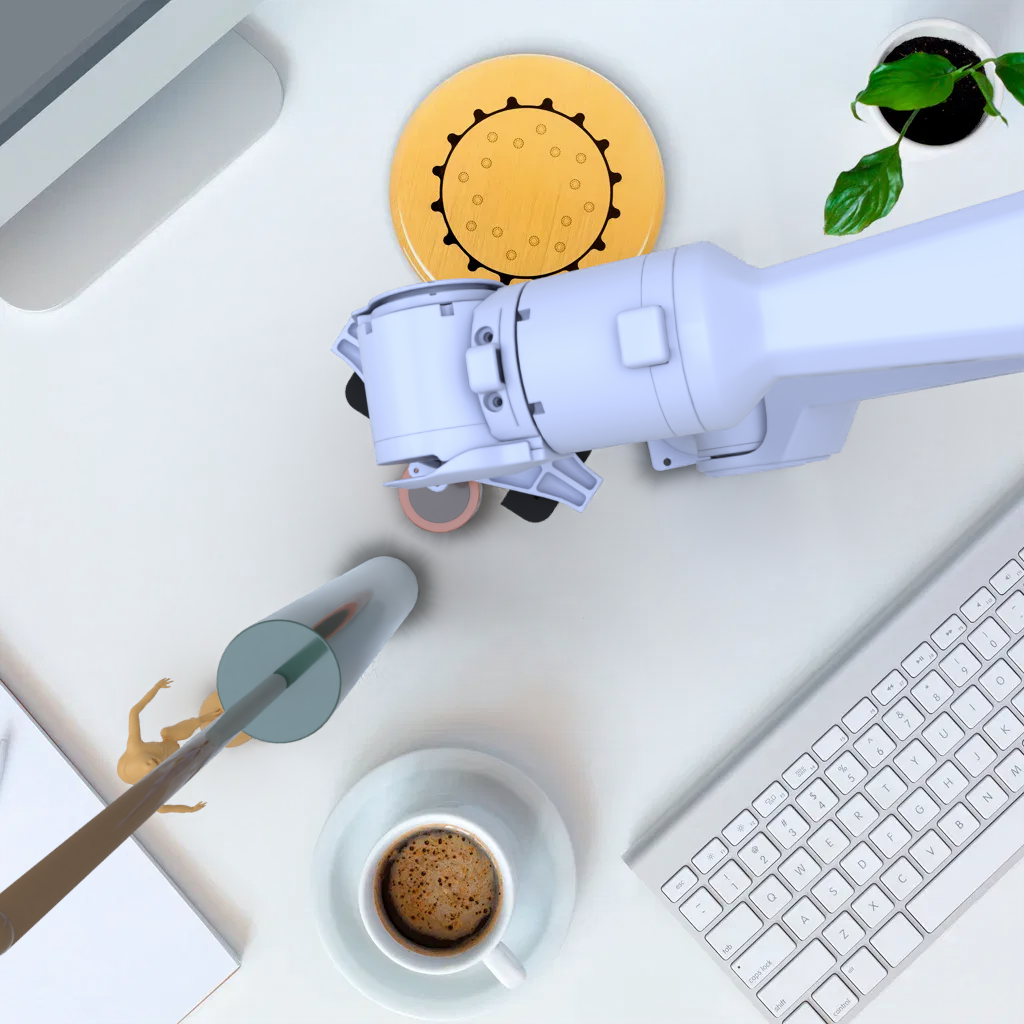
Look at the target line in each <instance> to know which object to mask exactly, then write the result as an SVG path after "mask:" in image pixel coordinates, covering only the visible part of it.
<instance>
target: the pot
mask: <svg viewBox="0 0 1024 1024" xmlns="http://www.w3.org/2000/svg"><path fill="white" fill-rule="evenodd" d="M408 468H409V465H407V467H406V468H405V470H404V471H403V473H402V475H401V478H400V479H406V478H412V477H411V475H410V474H409V470H408ZM415 472H416V473H418V472H419V469H418V468H417V469H415ZM438 486H439V485H438ZM398 499H399V500H398V501H399V504H400V507H401V510H402V511H403V513H404V514H405V516H406V518H407V519H408V520H409V521H410V522H411V523H412V524H414V525H415V526H417V527H418V528H420V529H421V530H424V531H427V532H430V533H436V534H441V533H449V532H452V531H455V530H458V529H459V528H461V527H463V526H464V525H465V524H467V523H468V522H469V521H470V520H471V519H472V518H473V517H474V515H475V514H476V513H477V512H478V510H479V508H480V506H481V502H482V499H483V483H480V482H476V481H466V482H459V483H452V484H449V485H448V487H447V488H446V489H445V490H443V491H440V492H435V491H432V490H430V489H429V488H427V487H424V488H416V489H403V488H398Z"/></svg>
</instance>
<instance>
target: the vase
mask: <svg viewBox="0 0 1024 1024" xmlns="http://www.w3.org/2000/svg"><path fill="white" fill-rule="evenodd" d="M418 597H419V583H418V580H417V577H416V574H415V573H414V571H413V570H412V569H411V567H410V566H409V565H408V564H407V563H406V562H404V561H402V560H401V559H399V558H396V557H394V556H389V555H379V556H375V557H372V558H369V559H367V560H366V561H364V562H363V563H361V564H359V565H357V566H355V567H353V568H352V569H349V570H348V571H346V572H344V573H343V574H341V575H339V576H337V577H336V578H333V579H332V580H330V581H328V582H326V583H325V584H323V585H321V586H319V587H317V588H316V589H314V590H312V591H310V592H309V593H307V594H305V595H303V596H301V597H299V598H298V599H296V600H294V601H292V602H291V603H289V604H287V605H285V606H283V607H282V608H280V609H278V610H276V611H274V612H272V613H271V614H269V615H267V616H265V617H264V618H261V619H260V620H258V621H256V622H254V623H253V624H251V625H249V626H248V627H246V628H244V629H243V630H242V631H240V632H239V633H237V634H236V635H235V637H233V639H232V640H230V642H229V643H228V644H227V646H226V647H225V649H224V650H223V652H222V655H221V657H220V660H219V662H218V665H217V666H218V667H217V671H216V690H217V692H218V696H219V700H220V703H221V705H222V707H223V710H224V711H225V712H224V713H222V714H221V715H220V716H219V717H217V718H216V719H215V720H214V721H212V722H211V723H210V724H209V725H208V726H206V727H205V728H204V729H203V730H201V729H200V731H199V732H198V733H197V734H195V735H194V736H193V737H190V738H189V740H188V741H186V742H185V743H184V744H183V745H181V746H180V748H179V749H178V750H177V751H175V752H174V753H173V754H172V755H170V756H169V757H168V758H167V759H166V760H164V761H163V762H162V763H161V764H159V765H158V766H157V767H156V768H154V769H153V770H152V771H151V772H149V773H148V774H147V775H146V776H145V777H143V778H142V779H141V780H140V781H138V782H137V783H136V784H135V785H132V786H131V787H130V788H128V789H127V790H126V791H125V792H123V793H122V794H121V795H120V796H119V797H117V798H116V799H115V800H113V801H112V802H111V803H110V804H109V805H107V806H106V807H105V808H104V809H103V810H101V811H100V812H99V813H98V814H96V815H95V816H94V817H92V819H90V820H89V821H87V822H86V823H85V824H84V825H83V826H82V827H80V828H79V829H78V830H77V831H75V832H74V833H72V835H71V836H69V837H68V838H66V839H65V840H64V841H62V843H60V844H59V845H58V846H57V847H56V848H54V849H53V850H52V851H50V852H49V853H48V854H47V855H45V856H44V857H43V858H41V860H39V861H38V862H36V864H35V865H33V866H32V867H31V868H30V869H28V870H26V872H24V873H23V874H21V876H20V877H18V878H17V879H16V880H15V881H13V882H12V883H11V884H10V885H9V886H7V887H6V888H5V889H3V890H2V891H1V892H0V957H2V956H3V955H4V954H6V953H7V952H8V950H10V949H11V948H12V947H13V946H14V945H15V944H16V943H18V941H19V940H21V939H22V938H23V937H24V936H25V935H26V934H27V933H28V932H30V930H31V929H32V928H33V927H34V926H36V925H37V924H38V923H39V922H40V921H41V920H42V919H43V918H44V917H45V916H46V915H48V913H50V911H52V910H53V909H54V908H55V907H56V906H57V905H58V904H59V903H60V902H61V901H62V900H64V898H65V897H66V896H68V895H69V894H70V893H72V891H73V890H74V889H75V888H76V887H77V886H78V885H79V884H81V883H82V881H84V880H85V879H86V878H87V877H88V876H89V875H90V874H91V873H92V872H93V871H94V870H96V869H97V867H99V866H100V865H101V864H102V863H103V862H104V861H105V860H106V859H107V858H108V857H109V856H110V855H111V854H112V853H114V852H115V851H116V850H117V849H118V848H119V847H120V846H121V845H122V844H123V843H125V841H126V840H127V839H129V837H131V836H132V835H133V834H134V833H135V832H136V831H137V830H139V828H141V826H143V824H144V823H145V822H147V821H148V820H149V819H150V818H151V817H152V816H153V815H154V814H156V812H157V810H158V809H159V808H160V807H161V806H163V805H166V803H167V802H168V801H169V800H170V799H172V797H174V795H175V794H177V793H178V792H179V791H180V790H181V789H182V788H183V787H184V786H185V785H186V784H188V783H189V781H191V779H193V778H194V777H195V776H196V775H197V774H199V772H201V770H202V769H203V768H204V767H205V766H206V765H207V764H209V763H210V762H211V761H213V760H214V758H215V757H216V756H217V755H218V754H220V753H221V752H222V750H224V749H226V748H225V747H226V746H227V745H228V744H229V743H230V742H231V741H232V740H233V739H234V738H235V737H236V736H237V735H238V734H240V733H241V732H244V733H245V734H247V735H249V736H251V737H252V738H253V739H255V740H258V741H260V742H264V743H267V744H268V743H269V744H275V745H277V744H290V743H295V742H299V741H303V740H304V739H307V738H309V737H310V736H312V735H314V734H315V733H317V732H318V731H319V730H320V729H322V728H323V727H324V725H326V724H327V722H328V721H329V720H330V719H331V718H332V716H333V715H334V713H335V712H336V711H337V709H338V708H339V707H340V705H341V704H342V702H343V701H344V700H345V699H346V698H347V697H348V695H349V694H350V693H351V691H352V690H353V688H354V687H355V686H356V685H357V683H358V682H359V680H360V679H361V678H362V676H363V675H364V674H365V673H366V671H367V670H368V668H369V667H370V665H371V664H372V663H373V662H374V661H375V659H376V658H377V656H378V655H379V654H380V652H381V651H382V650H383V649H384V648H385V646H386V644H387V643H388V642H389V641H390V639H391V638H392V637H393V635H394V634H395V633H396V631H397V630H398V629H399V627H400V626H401V625H402V624H403V622H404V621H405V619H406V618H407V617H408V616H409V614H410V613H411V611H412V610H413V609H414V607H415V605H416V603H417V600H418ZM252 738H251V739H252Z"/></svg>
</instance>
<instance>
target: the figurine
mask: <svg viewBox="0 0 1024 1024" xmlns="http://www.w3.org/2000/svg"><path fill="white" fill-rule="evenodd" d="M172 683H174V680H171V678H170V677H169V678H167V677H163V678H161V679H160V680H159V681H157V682H156V683H155V684H154V686H153V687H152V688H150V690H149V691H148V692H146V694H145V695H143V697H142V698H141V699H140V700H139V701H138V702H137V703H136V704H135V705H133V706H132V707H131V708H130V710H129V714H128V737H127V740H126V749H125V751H124V752H123V754H122V755H121V756H120V757H119V759H118V761H117V765H116V773H117V776H118V778H119V779H120V780H121V781H123V783H125V784H127V785H132V786H133V785H135V784H136V783H137V782H138V781H140V780H141V779H142V778H143V777H145V776H146V775H147V774H148V773H149V772H151V771H152V770H153V769H154V768H156V767H157V766H158V765H159V764H161V763H162V762H163V761H164V760H166V759H167V758H168V757H169V756H170V755H172V754H173V753H174V752H175V751H177V750H178V749H179V748H180V747H181V745H180V744H179V743H178V742H180V741H181V742H182V741H185V740H188V739H190V738H192V737H191V736H193V734H194V733H195V732H196V731H197V730H198V729H200V731H201V730H203V729H204V728H205V727H206V726H208V725H209V724H210V723H211V722H212V721H214V720H215V719H216V718H217V717H219V716H220V715H221V714H222V713H224V712H225V711H224V710H223V707H222V705H221V703H220V700H219V696H218V692H217V689H216V690H214V691H213V692H211V693H210V694H209V695H207V697H206V698H205V699H204V700H203V702H202V704H201V706H200V708H199V713H198V716H197V717H190V718H188V719H184V720H183V719H182V720H180V721H178V722H177V723H175V724H173V725H169V726H165V727H163V728H161V730H160V732H159V733H160V737H161V739H162V741H154V740H153V741H144V740H143V739H142V736H141V735H142V734H141V721H140V713H141V712H142V711H144V709H145V708H146V706H147V705H148V704H149V703H150V702H152V700H153V699H154V698H155V697H156V696H157V694H158V692H159V691H160V690H161V689H170V688H171V685H170V684H172ZM251 739H252V737H251V736H249V735H247V734H245V733H244V732H241V733H240V734H238V735H237V736H236V737H235V738H234V739H233V740H232V741H231V742H230V743H229V744H228V745H227V746H226V747H225V748H224V749H233V748H236V747H237V748H238V747H240V746H242V745H245V744H246V743H248V742H249V741H250V740H251ZM207 804H208V801H205V802H203V800H201V801H199V802H198V803H196V804H195V805H194V806H189V805H186V804H164V805H163V806H161V807H160V808H159V809H158V810H157V811H156V812H157V813H159V814H169V813H175V814H176V813H177V814H185V813H186V814H187V813H190V814H191V813H192V814H193V813H195V812H198V811H200V810H202V809H204V808H205V807H206V805H207Z"/></svg>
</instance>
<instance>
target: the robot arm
mask: <svg viewBox="0 0 1024 1024" xmlns="http://www.w3.org/2000/svg"><path fill="white" fill-rule="evenodd" d="M330 351H331V352H332V353H333V354H335V355H336V356H337V357H338V358H340V359H342V360H343V361H344V362H345V363H346V364H347V365H348V366H349V367H351V369H352V371H354V372H353V373H352V375H351V376H350V378H349V380H348V381H347V383H346V385H345V388H344V396H345V400H346V402H347V404H348V405H349V406H350V408H352V409H353V410H354V411H356V412H358V413H359V414H361V415H362V416H364V417H365V418H367V419H369V424H370V429H371V437H372V444H373V451H374V458H375V464H376V466H379V467H384V466H397V465H406V464H408V466H409V468H408V470H409V474H410V475H411V477H412V478H406V479H401V478H400V479H394V480H389V481H385V482H382V484H381V486H382V487H383V488H384V487H385V488H395V489H399V488H403V489H416V488H424V487H427V488H429V489H430V490H432V491H435V492H440V491H443V490H445V489H446V488H447V487H448V485H449V484H452V483H459V482H466V481H476V482H480V483H482V484H484V485H489V486H493V487H499V488H503V489H507V490H508V491H507V493H506V495H505V496H504V498H503V499H502V500H501V502H500V505H501V506H502V507H504V508H506V509H507V510H508V511H510V512H512V513H513V514H515V515H516V516H518V517H520V519H523V520H524V521H526V522H527V523H533V524H534V523H535V524H538V523H542V522H545V521H547V520H548V519H549V518H550V517H551V516H552V515H553V513H554V511H555V510H556V509H557V506H559V504H560V503H561V504H563V505H565V506H568V507H569V508H570V509H573V511H576V512H577V513H579V514H582V513H583V512H584V511H585V510H586V508H587V506H588V505H589V504H590V502H591V500H592V499H593V497H594V496H595V494H596V493H597V491H598V490H599V488H600V487H601V485H602V484H603V482H604V478H603V477H602V476H601V475H599V474H598V473H596V472H595V471H593V470H592V469H591V468H589V466H587V465H586V464H585V463H586V462H587V460H588V459H589V457H590V455H591V454H592V452H593V450H599V449H607V448H614V447H620V446H626V445H634V444H638V443H639V444H640V443H645V442H647V443H646V444H647V447H648V452H649V457H650V461H651V466H652V469H654V470H655V471H657V472H662V471H668V470H673V469H677V468H683V467H687V466H692V465H695V467H696V470H697V472H701V473H702V474H703V475H704V476H706V477H707V478H709V479H713V478H714V479H716V478H722V477H723V478H724V477H733V476H739V475H740V476H741V475H749V474H755V473H762V472H768V471H776V470H783V469H789V468H795V467H801V466H805V465H806V464H811V463H818V462H822V461H827V460H829V459H830V458H831V456H832V455H835V454H840V453H841V452H842V451H843V449H844V447H845V445H846V442H847V439H848V436H849V433H850V431H851V428H852V425H853V423H854V420H855V417H856V415H857V411H858V409H859V406H860V404H861V402H864V401H870V400H875V399H880V398H887V397H892V396H897V395H902V394H903V395H904V394H910V393H913V392H914V393H915V392H920V391H925V390H930V389H931V390H932V389H936V388H942V387H948V386H954V385H958V384H959V385H960V384H965V383H970V382H971V383H972V382H975V381H981V380H988V379H992V378H999V377H1003V376H1004V377H1005V376H1009V375H1015V374H1021V373H1024V190H1020V191H1017V192H1013V193H1010V194H1006V195H1003V196H1000V197H995V198H993V199H989V200H986V201H983V202H981V203H977V204H973V205H969V206H966V207H963V208H959V209H957V210H953V211H950V212H947V213H943V214H939V215H936V216H933V217H929V218H926V219H923V220H920V221H917V222H912V223H910V224H906V225H903V226H900V227H899V226H898V227H897V228H893V229H890V230H886V231H883V232H879V233H877V234H873V235H870V236H866V237H863V238H859V239H856V240H852V241H849V242H846V243H843V244H839V245H837V246H833V247H830V248H827V249H826V248H825V249H823V250H820V251H816V252H813V253H809V254H805V255H803V256H800V257H796V258H792V259H789V260H786V261H783V262H780V263H776V264H772V265H769V266H766V267H757V266H754V265H751V264H749V263H748V262H746V261H744V260H742V259H741V258H739V257H737V256H736V255H734V254H732V253H731V252H729V251H728V250H726V249H724V248H722V247H721V246H720V245H717V244H716V243H713V242H711V241H707V240H702V241H697V242H692V243H687V244H684V245H679V246H675V247H669V248H666V249H661V250H657V251H653V252H649V253H645V254H641V255H636V256H632V257H627V258H623V259H618V260H614V261H610V262H605V263H600V264H597V265H593V266H588V267H584V268H579V269H574V270H571V271H567V272H562V273H558V274H553V275H549V276H545V277H541V278H535V279H532V280H526V281H522V282H518V283H513V284H509V285H507V284H505V283H503V282H501V281H499V280H497V279H489V278H480V277H479V278H478V277H476V278H475V277H473V278H471V277H470V278H469V277H462V278H461V277H459V278H444V279H443V278H442V279H435V280H428V281H423V282H419V283H418V282H417V283H413V284H408V285H404V286H401V287H397V288H394V289H391V290H388V291H385V292H382V293H380V294H378V295H376V296H374V297H372V298H371V299H370V300H368V303H367V305H365V306H363V307H361V308H358V309H356V310H354V311H351V313H350V318H349V319H348V321H347V322H346V324H345V325H344V327H343V328H342V330H341V331H340V332H339V335H338V336H337V337H336V340H335V341H334V343H333V344H332V346H331V347H330ZM666 459H668V460H669V464H668V465H666V464H665V463H664V461H665V460H666ZM417 468H418V469H419V472H418V473H416V472H415V469H417ZM438 485H439V486H438Z"/></svg>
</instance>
